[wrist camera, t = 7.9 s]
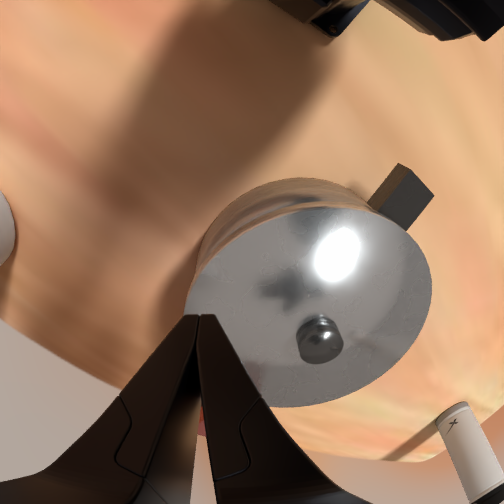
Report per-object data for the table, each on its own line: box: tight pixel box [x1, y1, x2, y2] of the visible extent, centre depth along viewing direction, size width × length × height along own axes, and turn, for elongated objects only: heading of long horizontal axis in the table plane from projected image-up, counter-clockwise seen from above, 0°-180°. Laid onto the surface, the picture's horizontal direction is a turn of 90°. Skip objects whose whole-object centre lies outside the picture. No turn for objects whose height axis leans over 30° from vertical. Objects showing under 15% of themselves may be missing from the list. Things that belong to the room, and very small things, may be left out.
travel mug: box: [436, 402, 504, 504], centre depth 29 cm, size 6×7×20 cm
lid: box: [183, 201, 432, 437], centre depth 18 cm, size 20×15×2 cm
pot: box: [195, 163, 434, 407], centre depth 21 cm, size 23×14×5 cm, turn 145°
